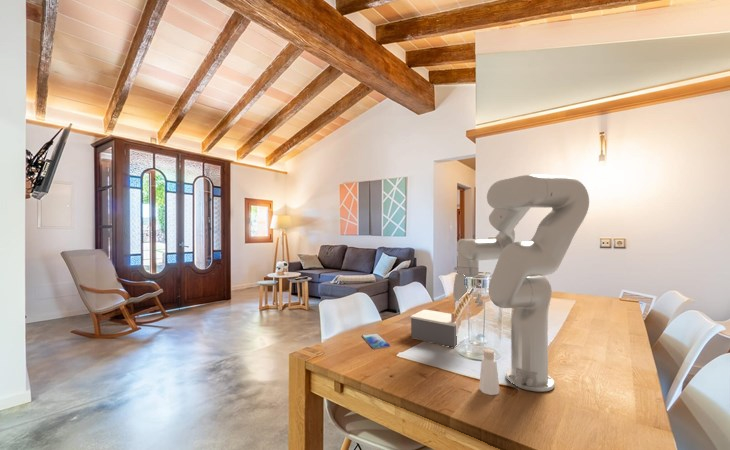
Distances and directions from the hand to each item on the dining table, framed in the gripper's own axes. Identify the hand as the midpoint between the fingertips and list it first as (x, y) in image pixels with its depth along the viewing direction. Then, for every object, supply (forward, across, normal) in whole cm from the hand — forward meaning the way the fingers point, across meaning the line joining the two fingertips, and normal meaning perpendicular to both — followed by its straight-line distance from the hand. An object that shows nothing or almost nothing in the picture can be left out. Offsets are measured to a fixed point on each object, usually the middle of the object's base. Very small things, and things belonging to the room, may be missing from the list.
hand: (468, 319), depth 120 cm
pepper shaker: (+10, +16, -29) cm, 35 cm away
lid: (+2, -12, 0) cm, 12 cm away
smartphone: (+10, -31, -17) cm, 37 cm away
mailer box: (+10, -12, 0) cm, 16 cm away
